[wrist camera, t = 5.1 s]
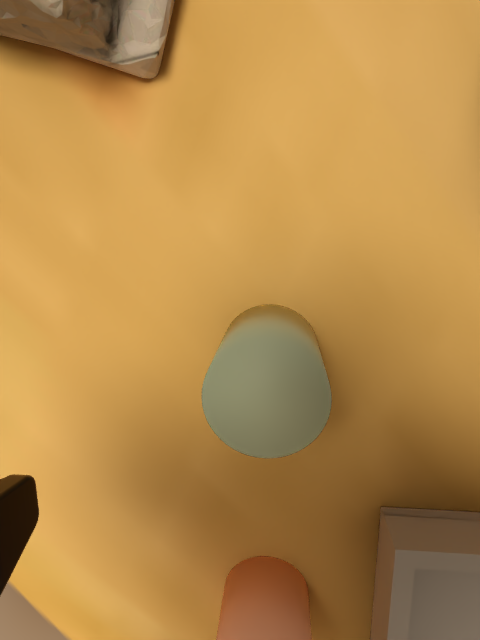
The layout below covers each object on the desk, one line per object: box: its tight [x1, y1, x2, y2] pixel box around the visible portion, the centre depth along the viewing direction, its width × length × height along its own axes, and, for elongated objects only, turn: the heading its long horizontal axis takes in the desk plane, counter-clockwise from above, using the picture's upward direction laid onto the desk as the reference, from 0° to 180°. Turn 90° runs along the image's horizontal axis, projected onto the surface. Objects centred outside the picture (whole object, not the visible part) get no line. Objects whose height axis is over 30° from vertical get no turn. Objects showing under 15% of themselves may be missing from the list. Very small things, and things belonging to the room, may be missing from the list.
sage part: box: [202, 305, 332, 458], centre depth 16 cm, size 4×4×5 cm
